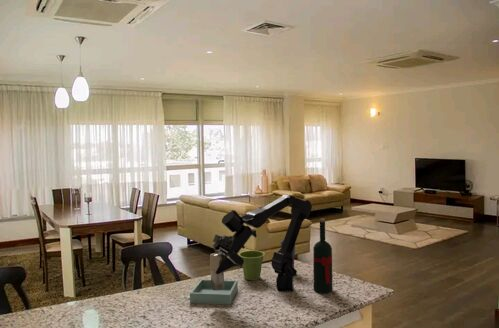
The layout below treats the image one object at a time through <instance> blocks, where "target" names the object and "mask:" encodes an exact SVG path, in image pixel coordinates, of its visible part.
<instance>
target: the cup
mask: <svg viewBox="0 0 499 328" xmlns="http://www.w3.org/2000/svg"><path fill="white" fill-rule="evenodd" d="M283 241H284V239H282V240H280V246H281V247H282V244H283ZM281 247H280V248H281ZM295 253H296V244H295V245H294V248H293V251H292V259H293V262H292V267H293V268H294V269H295Z"/></svg>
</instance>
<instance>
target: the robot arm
mask: <svg viewBox="0 0 499 328" xmlns="http://www.w3.org/2000/svg"><path fill="white" fill-rule="evenodd" d="M287 207H290V213H291V218H290V222H289V224H288V228H287V230H286V233H285V237H284V238H283V240H284V241H283V244H282V247H280V249H279V250H278V251H274V252H273V256H272V258H271V259H270V261H271V263H270V265H271V267H272V269H273V270H274V273H276V274H277V276H276V282H275V283H276V286H275V287H276V289H277V291H278V292H294V277H297V272H298V271H297V270H296V268H295V267H294V268H293V267H292V262H293V259H292V251H293V248H294V245H295V246H296V242H297V239H298V237H299V234H300V233H299V232H301V231H300V230H301V228H302V224H303V222H304V221H305V220H306V219H307V218H308V217H309V215H310V213H311V211H312V208H313V205H312V203H311V201H310V200H308V199H301V198H298V197H296V196H293V195H292V194H285V193H284V194H283V195H282V196H280V197H279V198H276V199H275V200H274V201H271V202H270V203H269V204H267V205H265V206H263V207H261V208H257V209H252V210H250V211H248V212H246V213H245V214H244V215H239V213H238V211H236V210H234V209H231V211H230V212H228V213H226V214H224V216H223V217H222V219H221V224H223V226H225V227H226V228H227V229H228V230H229V231H230V232H231V233H234V234H233V235H229V236H227V235H220V234H218V233H215V234H214V238H213V240H212V243H213V245H212V248H214V253H222V254H223V261H222V263H221V264H220V266H219V267H218V269H217V271H216V274H220V273H221V272H223V271H224V272H225V271H227V270H230V269H232V268H234V267H237V266H238V267H242V265H243V264H244V259H243V258H242V257H240V256H239V253H240V251H241V249H243V250H244V249H245V248H246V246H245V244H246V243H247V242H248V241H249V239H251V236H252V237H253V238H257V236H258V235H257V230H256V229H259V228H261V227H262V226H263V225H264V224H265V223H267V220H269V218H270V217H272V216H273V215H276V214H277V213H278V212H281V211H282V210H284V209H285V208H287ZM251 227H252V228H251ZM253 228H256V229H253Z"/></svg>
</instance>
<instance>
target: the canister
mask: <svg viewBox="0 0 499 328" xmlns="http://www.w3.org/2000/svg"><path fill="white" fill-rule="evenodd" d="M222 261H223V254H222V253H215V252H213V253H210V254H209V265H210V280H211V289H212V290H222V289H224V280H225V271H223V272H221V273H220V274H216V271H217V269H218V267H219V266H220V264H221V263H222Z"/></svg>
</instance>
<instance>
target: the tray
mask: <svg viewBox="0 0 499 328" xmlns="http://www.w3.org/2000/svg"><path fill="white" fill-rule="evenodd" d="M238 285H239V284H238V280H229V279H228V280H225V279H224V289H222V290H212V289H211V279H200V280H199V281H198V282H197V284H196V285H195V286H194V287H193V289H191V291H190V292H189V303H190V304H191V303H192V304H208V305H209V304H211V305H212V304H213V305H231V304H232V302H233V300H234V298H235V295H236V294H237V292H238Z"/></svg>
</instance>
